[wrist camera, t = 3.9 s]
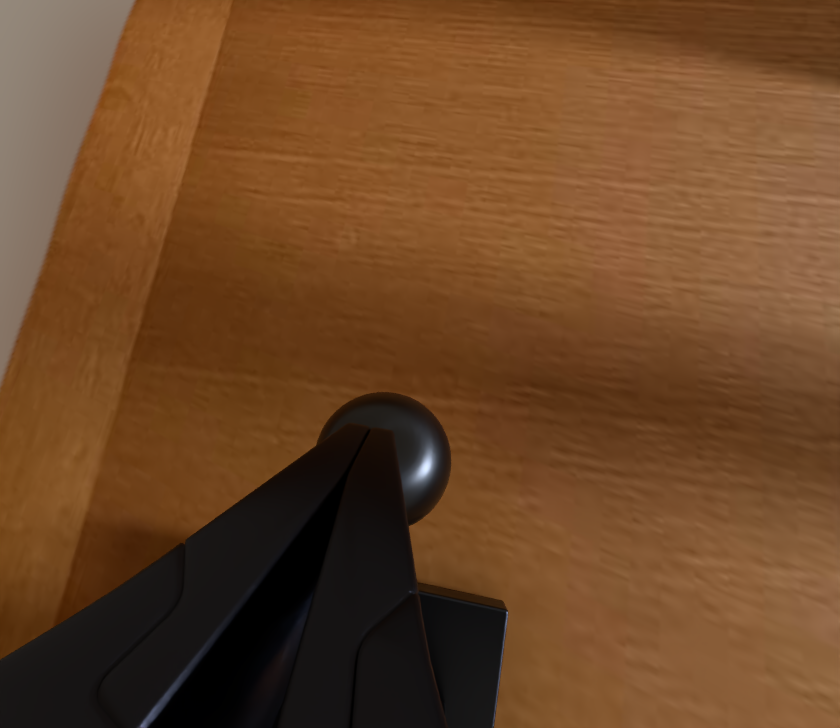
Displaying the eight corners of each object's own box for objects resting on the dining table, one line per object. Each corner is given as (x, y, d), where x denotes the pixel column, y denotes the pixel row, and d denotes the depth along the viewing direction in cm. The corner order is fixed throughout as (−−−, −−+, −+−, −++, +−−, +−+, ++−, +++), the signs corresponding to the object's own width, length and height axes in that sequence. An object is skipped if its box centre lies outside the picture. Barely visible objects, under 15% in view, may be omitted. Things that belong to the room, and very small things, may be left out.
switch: (345, 414, 12) (325, 356, 10) (456, 434, 12) (466, 380, 9) (112, 1190, 6) (-106, 1586, 4) (320, 1268, 6) (242, 1761, 3)
